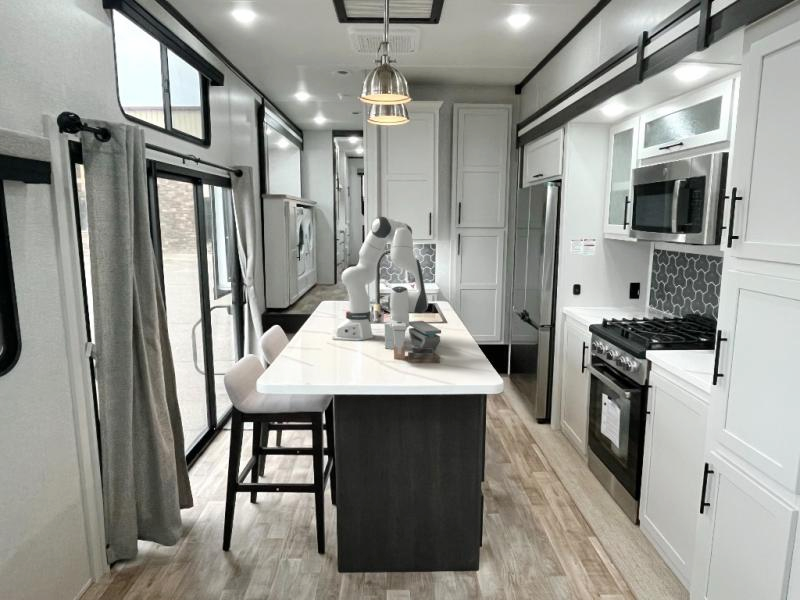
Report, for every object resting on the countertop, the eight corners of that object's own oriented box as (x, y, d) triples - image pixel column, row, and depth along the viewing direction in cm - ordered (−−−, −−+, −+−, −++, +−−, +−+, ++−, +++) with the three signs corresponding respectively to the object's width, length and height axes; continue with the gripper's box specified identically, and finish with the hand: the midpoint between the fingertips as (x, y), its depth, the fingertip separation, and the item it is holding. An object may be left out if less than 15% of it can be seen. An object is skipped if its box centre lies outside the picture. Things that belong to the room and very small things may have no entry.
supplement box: (403, 346, 249) (403, 321, 248) (398, 349, 243) (398, 324, 241) (389, 345, 252) (389, 320, 250) (384, 348, 245) (384, 323, 243)
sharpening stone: (440, 352, 238) (441, 330, 236) (425, 353, 235) (425, 331, 233) (422, 340, 261) (422, 320, 259) (408, 342, 259) (408, 321, 257)
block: (394, 358, 226) (394, 344, 225) (394, 356, 231) (394, 341, 230) (405, 358, 226) (405, 344, 225) (405, 356, 231) (404, 341, 230)
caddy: (408, 362, 219) (408, 354, 219) (408, 354, 233) (408, 347, 233) (439, 362, 219) (440, 354, 219) (437, 354, 233) (437, 347, 233)
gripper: (393, 318, 236) (393, 346, 238) (392, 327, 216) (392, 357, 218) (406, 318, 236) (406, 346, 238) (406, 327, 216) (406, 357, 218)
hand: (399, 351), depth 228 cm, fingers closed on block, 5 cm apart
